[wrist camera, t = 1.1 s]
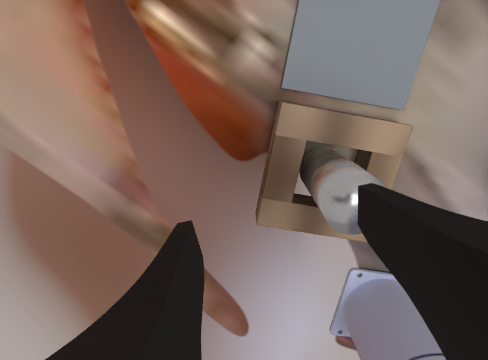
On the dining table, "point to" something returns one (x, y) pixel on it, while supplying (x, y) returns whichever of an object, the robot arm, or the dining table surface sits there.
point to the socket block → (329, 132)
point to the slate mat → (358, 48)
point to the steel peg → (335, 186)
